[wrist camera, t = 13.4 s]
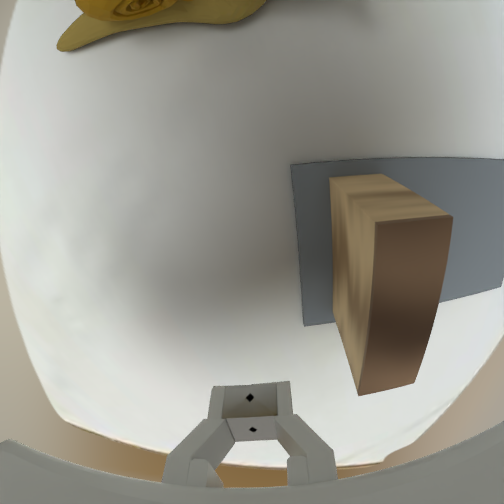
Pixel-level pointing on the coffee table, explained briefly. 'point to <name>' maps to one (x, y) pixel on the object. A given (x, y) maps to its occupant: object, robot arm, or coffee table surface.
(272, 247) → the coffee table surface
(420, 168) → the mat
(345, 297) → the slab
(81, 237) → the coffee table surface
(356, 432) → the coffee table surface
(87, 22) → the toy
